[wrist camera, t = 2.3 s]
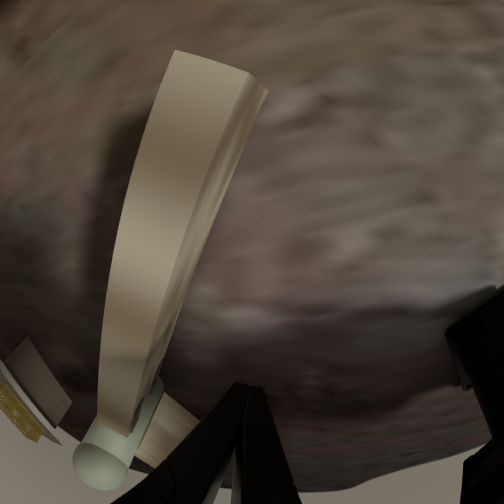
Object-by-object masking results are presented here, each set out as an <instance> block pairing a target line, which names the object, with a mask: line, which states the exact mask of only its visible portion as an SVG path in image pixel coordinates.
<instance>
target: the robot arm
mask: <svg viewBox="0 0 504 504" xmlns="http://www.w3.org/2000/svg"><path fill="white" fill-rule="evenodd" d="M453 334H454V335H453ZM445 338H446V341H447V343H448V346H449V349H450V352H451V355H452V358H453V361H454V364H455V367H456V370H457V374H458V377H459V380H460V384H461V386H462V389H463V390H464V391H468V390H470V389H472V388H473V390H474V393H475V395H476V397H477V400H478V402H479V405H480V407H481V409H482V412H483V414H484V417H485V420H486V422H487V425H488V428H489V430H490V433H491V436H492V439H491V440H490V441H489V442H488V443H487V444H486V445H485V446H483V447H482V448H481V449H480V450H479V451H478V452H477V453H475V454H474V455H471V456H470V457H468V458H467V459H466V460H465V461H464V463H463V477H462V490H461V498H460V504H504V291H503V292H502V293H500V294H499V295H498V296H496V297H495V298H493V299H492V300H491V301H489V302H488V303H486V304H485V305H483V306H482V307H480V308H479V309H477V310H476V311H474V312H473V313H471V314H470V315H468V316H467V317H465V318H464V319H462V320H460V321H459V322H457V323H456V324H454V325H452V326H451V327H449V328H448V329H447V331H446V333H445ZM248 386H249V387H248ZM247 391H248V392H247ZM238 432H239V433H238ZM236 441H237V442H236ZM235 445H236V447H235ZM234 449H235V455H234V468H233V480H232V495H231V504H302V503H301V500H300V498H299V495H298V492H297V489H296V486H295V485H294V480H293V477H292V474H291V471H290V468H289V465H288V462H287V459H286V456H285V453H284V450H283V447H282V444H281V441H280V438H279V435H278V431H277V428H276V425H275V422H274V419H273V416H272V413H271V409H270V406H269V403H268V400H267V396H266V393H265V390H264V388H263V387H262V386H259V385H253V384H250V385H248V384H247V383H243V382H238V381H235V382H234V383H233V384H232V385H231V386H230V387H229V388H228V390H227V391H226V392H225V393H224V394H223V395H222V397H221V398H220V399H219V400H218V401H217V402H216V404H215V405H214V406H213V407H212V408H211V409H210V410H209V411H208V413H207V414H206V415H205V416H204V417H203V418H202V419H201V420H200V422H199V423H198V424H197V425H196V426H195V427H194V428H193V429H192V430H191V432H190V433H189V434H188V435H187V436H186V437H185V438H184V439H183V440H182V441H181V442H180V443H179V444H178V446H177V447H176V448H175V449H174V450H173V451H172V452H171V453H170V454H169V455H168V456H167V457H166V459H164V460H163V461H162V462H161V463H160V464H159V465H158V466H157V467H156V468H155V469H154V470H153V471H152V472H151V473H150V474H149V475H148V476H147V477H146V478H145V479H143V480H142V481H141V482H140V483H138V484H137V485H136V486H135V487H133V488H132V489H131V490H129V491H128V492H126V493H125V494H124V495H122V496H121V497H119V498H118V499H117V500H115V501H114V502H112V503H111V504H213V502H214V500H215V497H216V495H217V492H218V490H219V488H220V485H221V483H222V480H223V478H224V475H225V473H226V470H227V468H228V465H229V462H230V460H231V457H232V455H233V452H234Z"/></svg>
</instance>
